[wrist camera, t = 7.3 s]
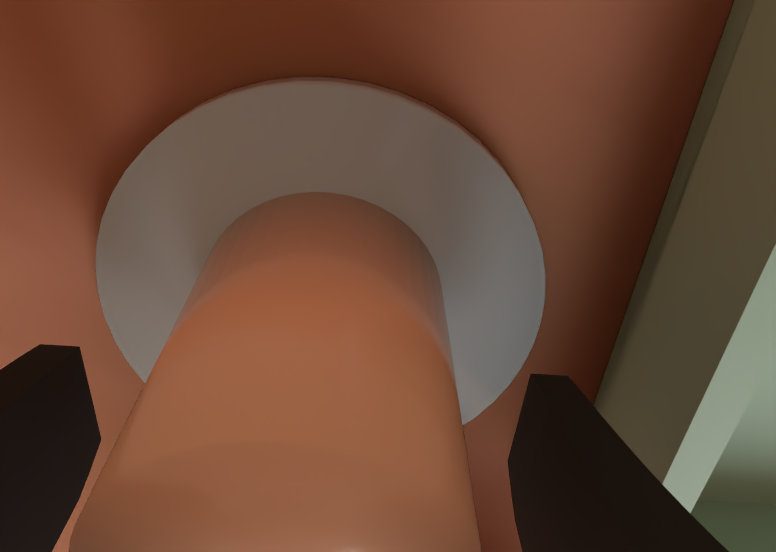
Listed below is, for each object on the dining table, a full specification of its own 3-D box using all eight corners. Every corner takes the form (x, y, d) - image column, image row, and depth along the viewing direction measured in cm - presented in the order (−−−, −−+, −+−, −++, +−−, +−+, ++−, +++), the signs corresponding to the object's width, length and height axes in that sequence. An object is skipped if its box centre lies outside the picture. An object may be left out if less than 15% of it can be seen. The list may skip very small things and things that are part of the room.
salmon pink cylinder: (424, 398, 14) (448, 695, 9) (208, 381, 13) (98, 678, 8) (461, 205, 11) (527, 461, 6) (197, 179, 11) (30, 423, 6)
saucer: (498, 452, 15) (501, 471, 15) (138, 433, 15) (130, 451, 15) (586, 97, 11) (597, 107, 10) (67, 55, 10) (51, 63, 10)
